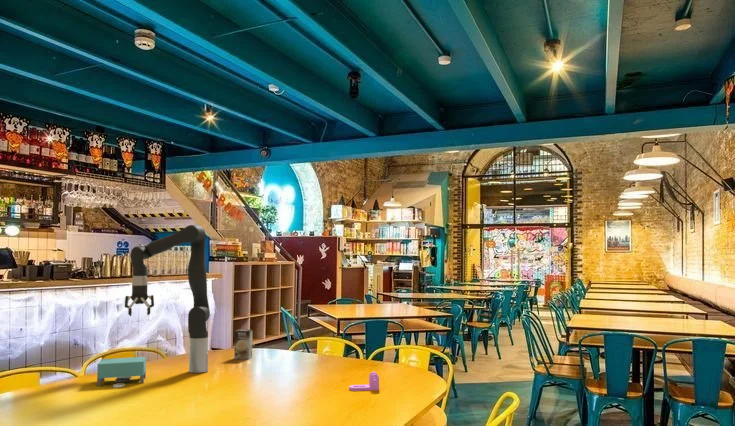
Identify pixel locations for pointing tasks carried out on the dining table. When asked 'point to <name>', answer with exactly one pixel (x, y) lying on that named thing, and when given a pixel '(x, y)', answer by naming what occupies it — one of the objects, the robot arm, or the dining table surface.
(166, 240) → the robot arm
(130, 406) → the dining table surface
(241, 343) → the coffee box
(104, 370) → the teal footstool
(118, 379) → the scraper tool
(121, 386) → the steel token
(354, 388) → the bracket
